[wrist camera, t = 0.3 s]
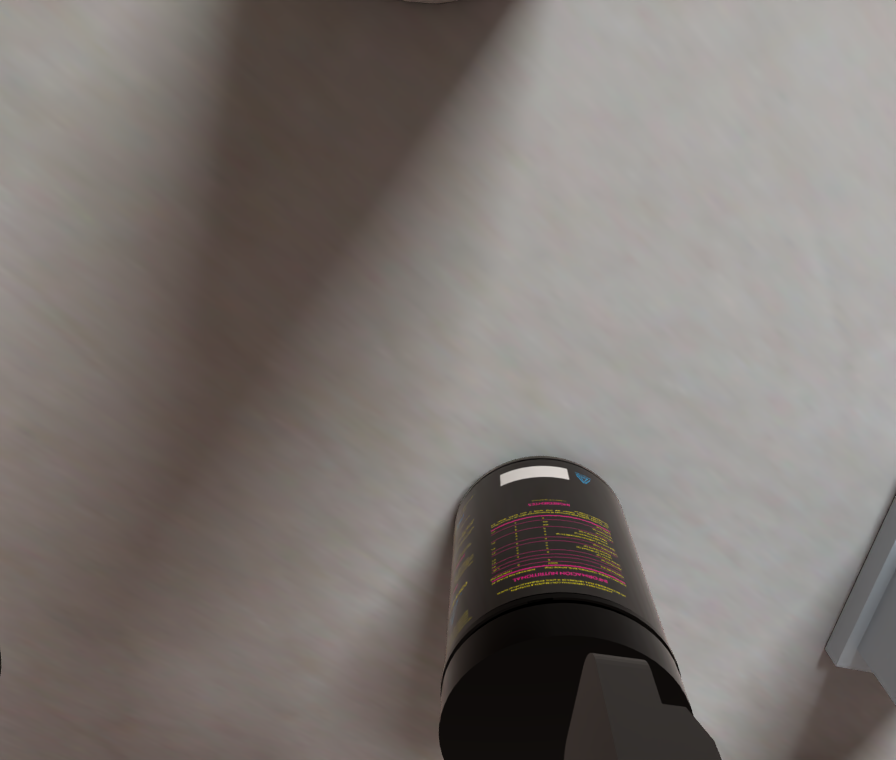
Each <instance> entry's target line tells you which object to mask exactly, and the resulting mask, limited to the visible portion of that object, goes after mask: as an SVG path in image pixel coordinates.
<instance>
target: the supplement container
mask: <svg viewBox="0 0 896 760" xmlns="http://www.w3.org/2000/svg"><path fill="white" fill-rule="evenodd" d="M589 653H596V654H603V655H611V656H618V657H626V658H633V659H641V660H645V661H646V662H647V663H648V664H649V666H650V669H651V672H652V675H653V678H654V681H655V684H656V687H657V690H658V693H659V696H660V699H661V703H662V704H667V705H674V706H682V707H686V708H687V709H688V710H689V712H690V713H691V714H692V715H693V713H692V709H691V706H690V703H689V700H688V697H687V694H686V691H685V688H684V685H683V682H682V679H681V675H680V671H679V668H678V664H677V661H676V659H675V656H674V654H673V652H672V650H671V648H670V647H669V645H668V642H667V639H666V636H665V633H664V630H663V627H662V624H661V621H660V618H659V615H658V613H657V610H656V607H655V604H654V601H653V598H652V595H651V592H650V589H649V586H648V583H647V580H646V577H645V574H644V571H643V568H642V565H641V562H640V560H639V557H638V554H637V551H636V548H635V545H634V542H633V539H632V536H631V533H630V530H629V527H628V524H627V521H626V518H625V515H624V512H623V510H622V507H621V504H620V502H619V500H618V498H617V496H616V495H615V493H614V492H613V490H612V489H611V488H610V487H609V485H608V484H607V483H606V482H605V481H604V480H603V479H601V478H600V477H599V476H598V475H597V474H595V473H594V472H592V471H591V470H589V469H587V468H585V467H584V466H582V465H580V464H577V463H575V462H572V461H569V460H566V459H562V458H557V457H550V456H530V457H524V458H519V459H515V460H512V461H509V462H506V463H504V464H501V465H499V466H497V467H495V468H494V469H492V470H490V471H489V472H488V473H486V474H485V475H483V476H482V477H481V478H480V479H479V480H478V481H477V482H476V483H475V484H474V485H473V486H472V487H471V488H470V489H469V491H468V492H467V493H466V495H465V496H464V498H463V500H462V502H461V504H460V506H459V508H458V511H457V515H456V519H455V525H454V540H453V554H452V568H451V582H450V596H449V610H448V624H447V638H446V653H445V665H444V668H443V673H442V679H441V707H440V721H439V742H440V748H441V752H442V755H443V758H444V760H564V754H565V746H566V740H567V736H568V731H569V727H570V723H571V718H572V714H573V709H574V705H575V701H576V696H577V692H578V688H579V683H580V679H581V675H582V670H583V666H584V662H585V659H586V657H587V655H588V654H589Z"/></svg>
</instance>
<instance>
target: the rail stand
mask: <svg viewBox="0 0 896 760" xmlns="http://www.w3.org/2000/svg"><path fill="white" fill-rule="evenodd" d="M825 650H826V652H827V653H828V655H829V656H830V658H831V660H832V661H833V663H834V665H835V666H836V667H842V668H848V669H854V670H859V671H865V672H871V673H874V675H875V676H876V678H877V679H878V681H879V682H880V684H881V685H882V687H883V688H884V690H885V691H886V692H887V694H888V695H889V697H890V698H891V700H892V701H893V703H894V704H895V706H896V496H895V498H894V500H893V502H892V505H891V507H890V509H889V511H888V513H887V515H886V518H885V520H884V522H883V524H882V526H881V528H880V531H879V533H878V535H877V537H876V539H875V541H874V544H873V546H872V548H871V550H870V552H869V554H868V557H867V559H866V561H865V563H864V565H863V567H862V570H861V572H860V574H859V576H858V578H857V580H856V583H855V585H854V587H853V589H852V591H851V593H850V596H849V598H848V600H847V602H846V604H845V606H844V609H843V611H842V613H841V615H840V617H839V619H838V621H837V624H836V626H835V628H834V630H833V632H832V634H831V637H830V639H829V641H828V643H827V645H826V647H825Z"/></svg>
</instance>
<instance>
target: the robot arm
mask: <svg viewBox="0 0 896 760" xmlns="http://www.w3.org/2000/svg"><path fill="white" fill-rule="evenodd" d="M403 1H408V2H422V3H436V4H439V3H445V2H451V1H457V0H403ZM0 674H1V653H0ZM564 760H721V757H720V754H719V752H718V749H717V747H716V744H715V742H714V740H713V739H712V738H711V737H710V735H709V734H708V733H707V732H706V731H705V729H704V728H703V727H702V726H701V725H700V723H699V722H698V721H697V720H696V719H695V717H694V716H693V715H692V714H691V713H690V712H689V710H688V709H687V708H686V707H682V706H674V705H667V704H662V703H661V699H660V696H659V693H658V690H657V687H656V684H655V681H654V678H653V675H652V672H651V669H650V666H649V664H648V663H647V662H646V661H645V660H641V659H633V658H626V657H618V656H611V655H603V654H596V653H589V654H588V655H587V657H586V659H585V662H584V666H583V670H582V675H581V679H580V683H579V688H578V692H577V696H576V701H575V705H574V709H573V714H572V718H571V723H570V727H569V731H568V736H567V740H566V746H565V754H564Z"/></svg>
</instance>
